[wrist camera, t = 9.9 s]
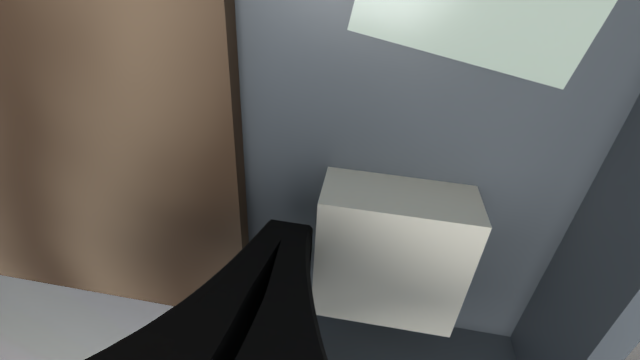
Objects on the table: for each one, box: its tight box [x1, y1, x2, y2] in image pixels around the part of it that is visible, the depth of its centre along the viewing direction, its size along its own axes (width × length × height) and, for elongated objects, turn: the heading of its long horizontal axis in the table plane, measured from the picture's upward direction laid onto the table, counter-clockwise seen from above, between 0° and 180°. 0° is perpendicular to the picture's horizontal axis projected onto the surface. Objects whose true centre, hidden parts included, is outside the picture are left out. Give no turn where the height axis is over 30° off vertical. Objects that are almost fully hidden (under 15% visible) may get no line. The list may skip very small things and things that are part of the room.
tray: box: [235, 0, 640, 360], centre depth 9 cm, size 11×18×4 cm, turn 177°
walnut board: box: [0, 0, 249, 306], centre depth 12 cm, size 15×18×1 cm
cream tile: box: [312, 167, 492, 337], centre depth 12 cm, size 4×4×2 cm
